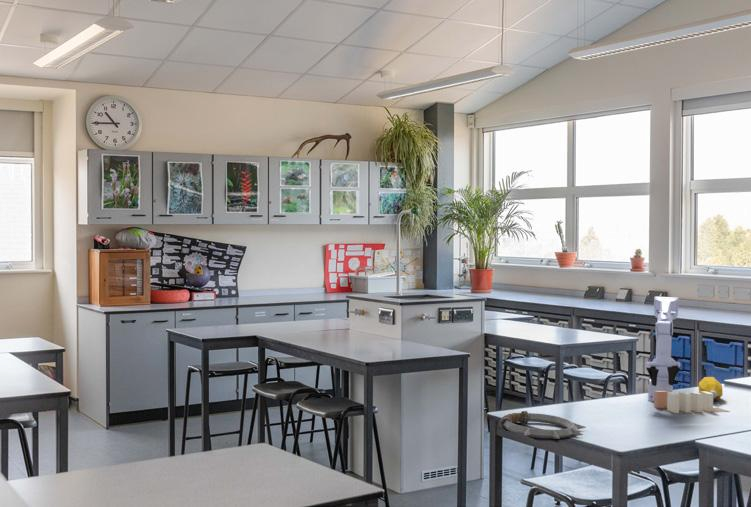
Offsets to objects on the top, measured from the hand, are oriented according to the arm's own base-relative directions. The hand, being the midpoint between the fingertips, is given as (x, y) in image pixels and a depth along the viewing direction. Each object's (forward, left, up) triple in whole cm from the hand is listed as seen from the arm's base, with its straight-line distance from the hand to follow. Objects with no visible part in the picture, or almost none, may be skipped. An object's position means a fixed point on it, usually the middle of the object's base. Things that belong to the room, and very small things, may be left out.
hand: (662, 385), depth 334 cm
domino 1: (0, 0, -10) cm, 10 cm away
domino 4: (+13, 0, -9) cm, 15 cm away
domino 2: (+5, -6, -9) cm, 12 cm away
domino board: (+13, 0, -9) cm, 16 cm away
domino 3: (+9, -3, -9) cm, 13 cm away
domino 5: (+16, +4, -9) cm, 19 cm away
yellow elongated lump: (+16, +32, -10) cm, 37 cm away
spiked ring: (-32, -63, -10) cm, 71 cm away
